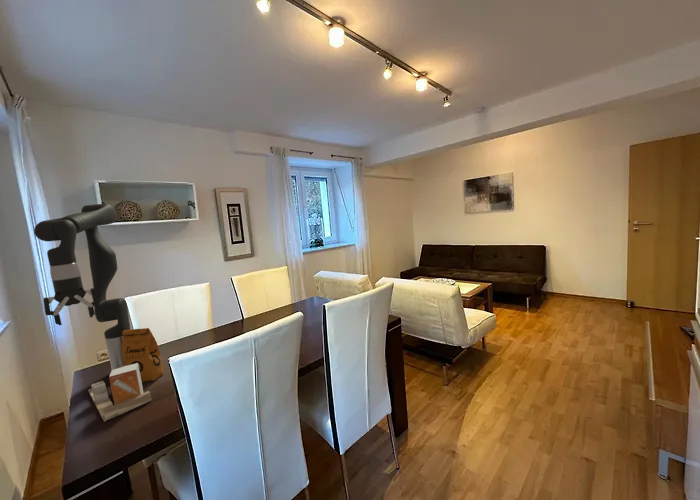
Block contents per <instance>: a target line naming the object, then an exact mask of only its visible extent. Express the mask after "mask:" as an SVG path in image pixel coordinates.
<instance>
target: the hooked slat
mask: <svg viewBox="0 0 700 500" xmlns="http://www.w3.org/2000/svg"><path fill="white" fill-rule="evenodd" d="M106 386H107V385H106V383H105V382H104V380H101V381H97V382H96V383H95V382H94V383H92V384H91V388H90V389H88V393H89V395H90V397H91V399H92V401H93V404H94V405H95V407H96V408H97V411H98V412H99V415H100V416H101V418H102V420H103V423H104V422H107V421H108V420H112V419H114V418H116V417H118V416H121V415H122V414H125V413H127V412H129V411H131V410H134V409H136V408H138V407H140V406H142V405H144V404H148V402H150V401H152V395H151V392H150V391H149V390H148V391H145V392H144V393H143V394H140V395H138V396H136V397H133V398H131V399H129V400H126V401H124V402H122V403H119V404H117V405H115V404H114V403H113V402H112V401H111V398H110V397H109V395H108V391H107V387H106Z"/></svg>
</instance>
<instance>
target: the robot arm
mask: <svg viewBox="0 0 700 500" xmlns="http://www.w3.org/2000/svg"><path fill="white" fill-rule="evenodd" d="M116 221H117V211H116V209H115V207H114V206H113V205H111V204H109V203H97V204H86V205H83V206H82V208H81V212H78V213H77V212H76V213H72V214H68V215H66V216H63V217H61V218H60V217H59V218H53V219H47V220H41V221H39V222H38V223H36V225H35V227H34V229H33V232H34V236H35V237H36V238H37V239H39V240H41V241H44V242H57V241H60V243H59V246H56V247H52V248H50V249H48V250H47V253H46V254H47V259H48V265H49V271H50V278H51V282H52V286H53V290H54V296H50V297H49V296H48V297H47V296H45V297H43V299H42V300H43V305H44V313H45V315H46V316H53V318H54V323H55V324H56V325H58V326H62V320H61V316H60V312H61V311H62V310H63V308H64V306H65V307H68V306H72V305H78V304H80V303H83V304H84V305H86V307H87V311H88V315H89V318H93V317H94V316H95V317H94V318H95V319H96V321H97V322H99V323H106V322H112V321H117V323H116V324H115V325H113V326H112V327H109V328H107V329H106V330H105V331H104V333H103V334H104V340H105V344H106V349H107V352H108V353H107V354H108V358H109V363H110V367H111V368H110V369H111V371H112V370H113V369H117V368H121V367H124V366H125V365H124V361H123V356H122V352H121V351H122V343H123V337H124V335H122V332H123V330H131V325H130V323H131V322H130V318H129V317H130V315H129V309H128V303H127V301H126V299H125V298H122V297H118V298H111V299H107V291H108V288H109V285H110V284H111V282H112V281H113V280H114V279H113V278H114V277H115V275H116V274H117V271H118V261H117V255H116V252H115V251H114V250H113V248H112V247H111V246H110V245H109V244H108V243H107V242H106V241H105V240H104V239H103V238H102V237H101V235H100V231H99V228H98V226H107V225H112V224H114V223H115V222H116ZM82 232H84V233H85V237H86V243H87V248H88V249H87V250H88V256H89V257H88V258H89V259H88V260H89V266H90V273H91V279H92V287H91V288H89V289H86V290H85V289H84V286H83V281H82V275H81V272H80V267H79V264H78V262H77V258H76V254H75V251H76V249H75V247H76V240H77V234H79V233H82ZM87 294H88V295H89V296H91V298H92V301H91V302H90V301H88V300H86V299H85V298H84V297H85V296H86V295H87ZM53 301H56V302H58V304H57V305H56V307H55V309H54V310H51V307H50V304H52V303H53Z"/></svg>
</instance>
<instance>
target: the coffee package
mask: <svg viewBox="0 0 700 500" xmlns="http://www.w3.org/2000/svg"><path fill="white" fill-rule="evenodd" d="M122 335H124V337H123V343H122V351H121V352H122V356H123V361H124V365H125V366H128V365H132V364H136V363H138V366H139V371H140V376H141V382H142V383H143V382H144V383H146V382H155V381H157V379H159V378H160V377H161V376H163V374H164V373H165V372H164V368H163V364H162V363H163V361H162V355H161V352H160V348H159V345H158V342H157V341H156V338H155V337H154V335H153V332H152V331H151V330H150V328H149V327H146V328H145V327H144V328H135V329H133V328H132V329H131V328H130V330H123V332H122Z"/></svg>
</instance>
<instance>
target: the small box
mask: <svg viewBox="0 0 700 500" xmlns="http://www.w3.org/2000/svg"><path fill="white" fill-rule="evenodd" d="M108 377H109V378H108V379H109V383H110V389H111V393H112V399H113V405H114V406H115V405H117V404H119V403H122V402H124V401H126V400H129V399H131V398H133V397H136V396H138V395H140V394H143V393H145V392H144V388H143V382H141V376H140V371H139V366H138V363H136V364H132V365H128V366H124V367H121V368H117V369H113V370H112V369H111V371H110V374H109V376H108Z"/></svg>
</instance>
